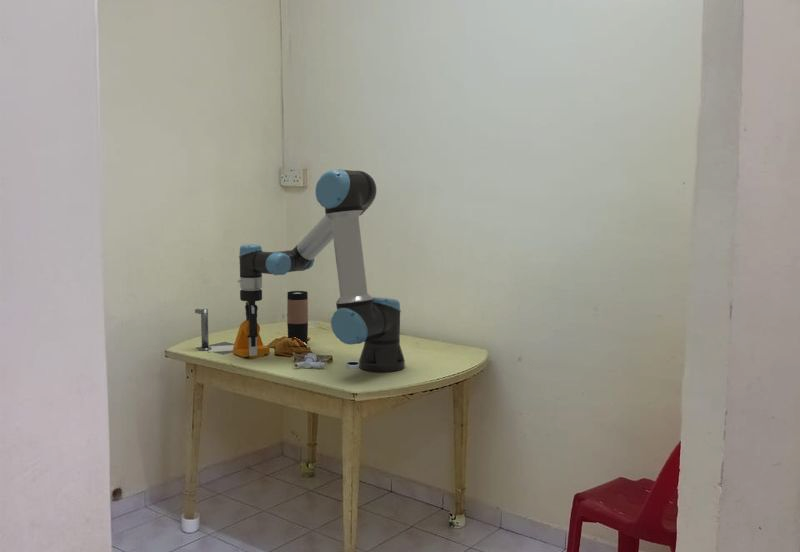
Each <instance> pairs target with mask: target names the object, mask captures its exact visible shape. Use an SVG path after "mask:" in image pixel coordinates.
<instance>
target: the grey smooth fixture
mask: <svg viewBox="0 0 800 552" xmlns="http://www.w3.org/2000/svg"><path fill="white" fill-rule="evenodd" d="M194 313H195V314H198V315H200V325H201V327H200V328H201V346H199V347H200V348H199V349H198V351H201V352H208V350H211V349H212V348H211V347H209V345H210V344H209V342H210V340H209V308H202V309H201V308H195V309H194Z"/></svg>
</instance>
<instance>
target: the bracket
mask: <svg viewBox="0 0 800 552" xmlns="http://www.w3.org/2000/svg"><path fill="white" fill-rule="evenodd" d="M260 331H261V327H260V324H259V323H258V322H257V334H258V336H257V356H249V338H247V335H249V320H246V319H245V320H243V321H242V322H241V323H240V325H239V328H238V332H237V334H236V338H235V341H234V343H233V344H234V347H233V353H232V354H234V355H237V356H240V357H242V358H244V357H245V358H248V359H253V358H254V359H255V358H261V357H265V355H266V354H269V353H270V346H268V345H264V344H263V341H262V338H261V335H260Z"/></svg>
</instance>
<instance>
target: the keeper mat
mask: <svg viewBox="0 0 800 552" xmlns="http://www.w3.org/2000/svg"><path fill="white" fill-rule="evenodd" d="M234 344H235V343H231V342H227V341H223V342H216V343H213V344H209V347H211V348H212V349H211V350H208V351H207V352H208V353H215V354H219V355H228V354H234V353H233V347H234ZM200 347H201V346H198V347H194V349H196V350H199V348H200Z"/></svg>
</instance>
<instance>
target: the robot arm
mask: <svg viewBox="0 0 800 552" xmlns="http://www.w3.org/2000/svg"><path fill="white" fill-rule="evenodd" d="M315 185H316V186H315V198H316V200H317V202H318V204H320V206H321V207H323V208H324V212H325V215H324V216H323V217H322V218H321V220H319V222H317V223H316V225H314V226H313V228H311V230H310V231H309V232H308V233H307V234H306V235H305V236H304V237H303V238H302V239H301V240H300V242H298V243H297V244H296V245H295V247H294V248H293V249H290V250H280V251H263V250H262V246H261V245H260V244H242V245H241V246H240V247H239V256H238V259H239V279H238V281H237V282H238V284H239V288H240V291H239V300H240V301H242V302H245V305H244V309H245V317H246V318H245V320H249V335H247V338H249V356H257V336H258V334H257V323H258V307H259V306H258V305H257V304H256V302H260V301H262V300H263V290H262V288H263V274H264V275H266V274H267V275H274V276H284V275H285V276H286V274H287V273H291V272H303V271H307V270H309V269H311V268H312V267H313V266H314V263H315V258H316V257H317V256H318V255H319V254H320V253H321V252H322V251H323V250H324V249H325V248H326V247H327V246H328V245H329V244H330V243H331V242H332V241H333V246H334V254H335V262H336V263H335V264H336V269H337V270H336V271H337V279H338V288H339V289H338V290H339V298H337V300H336V301H335V303H336V310H335V311H334V312H333V315H332V316H331V318H330V319H331V320H330V327H331V330H332V332H333V334H334V336H335V337H336V338H337V339H338V340H339V341H340V342H341V343H343V344H345V345H360V344H362V343H364V345H363V348H362V351H361V354H360V357H359V360H358V367H359V368H360V369H361V370H365V371H367V372H368V371H369V372H375V373H385V372H386V373H387V372H388V373H389V372H397V371H400V370H403V369H404V368H405V365H406V364H405V362H406V361H405V357H404V353H403V351H402V347H401V344H400V343H401V341H400V340H401V339H400V338H401V332H400V331H401V311H402V310H401V308H400V307H401V304H400V303H401V302H400V301H399V300H398V299H395V298H390V297H389V298H388V297H387V298H386V297H375V296H374V297H372V296H371V295H370V294H369V293H368V287H367V277H366V268H365V261H364V253H363V243H362V236H361V235H362V234H361V227H360V216H362V215H363V214H364V213H365V212H366V211H367V210H368V209H369V208H370V207H371V206H372V204H373V202H374V200H375V199H376V196H377V184H376V182H375V180H374V178H373V177H372V176H371V175H370V174H369V173H367V172H366V171H363V170H348V169H341V168H339V169H330V170H327V171H326V172H324V173H323V174H322V175H321V176H320V177H319V179H318V180H317V182H316V184H315ZM249 356H248V357H249Z"/></svg>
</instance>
